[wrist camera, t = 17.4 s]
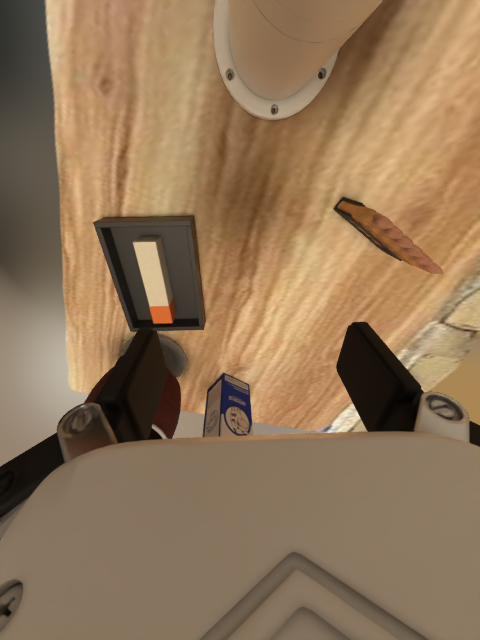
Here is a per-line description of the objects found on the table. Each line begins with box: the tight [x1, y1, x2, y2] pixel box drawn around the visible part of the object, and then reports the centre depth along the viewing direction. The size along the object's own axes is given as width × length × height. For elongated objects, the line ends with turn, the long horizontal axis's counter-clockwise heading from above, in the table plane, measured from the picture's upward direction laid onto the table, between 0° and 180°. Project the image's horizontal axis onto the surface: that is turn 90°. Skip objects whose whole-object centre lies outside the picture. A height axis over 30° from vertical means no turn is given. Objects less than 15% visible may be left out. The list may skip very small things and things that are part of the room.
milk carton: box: [203, 373, 253, 437], centre depth 44 cm, size 7×7×20 cm
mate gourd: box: [84, 335, 186, 440], centre depth 38 cm, size 16×14×20 cm
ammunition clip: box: [334, 197, 443, 274], centre depth 29 cm, size 11×2×12 cm, turn 57°
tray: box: [93, 216, 206, 332], centre depth 36 cm, size 17×12×3 cm
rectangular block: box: [133, 236, 176, 324], centre depth 36 cm, size 13×3×3 cm, turn 1°
